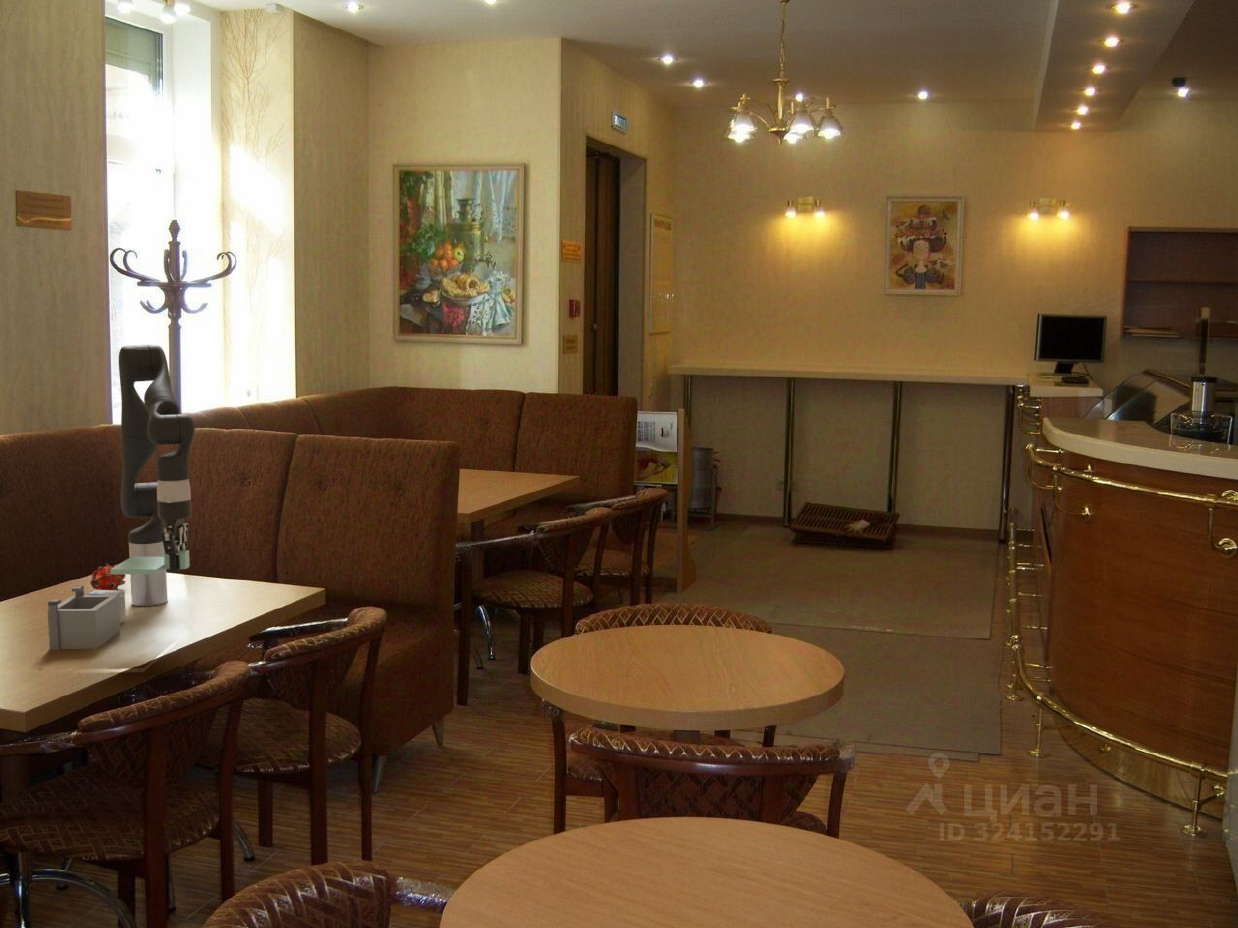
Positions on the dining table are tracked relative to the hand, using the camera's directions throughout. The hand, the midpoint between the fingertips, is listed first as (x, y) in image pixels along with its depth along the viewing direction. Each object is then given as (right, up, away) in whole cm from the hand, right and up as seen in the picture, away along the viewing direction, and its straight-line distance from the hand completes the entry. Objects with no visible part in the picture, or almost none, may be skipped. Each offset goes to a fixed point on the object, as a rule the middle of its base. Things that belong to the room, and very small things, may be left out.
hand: (177, 568), depth 289 cm
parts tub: (-23, -18, +2) cm, 29 cm away
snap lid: (-5, 0, 0) cm, 5 cm away
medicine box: (-25, -16, +19) cm, 35 cm away
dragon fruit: (-40, -12, +54) cm, 68 cm away
